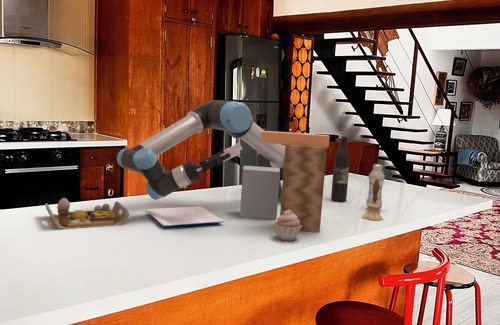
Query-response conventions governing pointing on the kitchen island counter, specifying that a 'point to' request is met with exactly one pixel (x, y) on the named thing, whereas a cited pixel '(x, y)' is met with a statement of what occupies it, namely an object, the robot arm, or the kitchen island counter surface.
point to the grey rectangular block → (259, 192)
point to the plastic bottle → (373, 176)
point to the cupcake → (287, 226)
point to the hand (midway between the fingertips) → (239, 147)
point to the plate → (183, 216)
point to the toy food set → (87, 216)
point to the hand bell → (373, 205)
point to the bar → (295, 138)
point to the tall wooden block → (304, 184)
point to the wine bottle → (340, 173)
